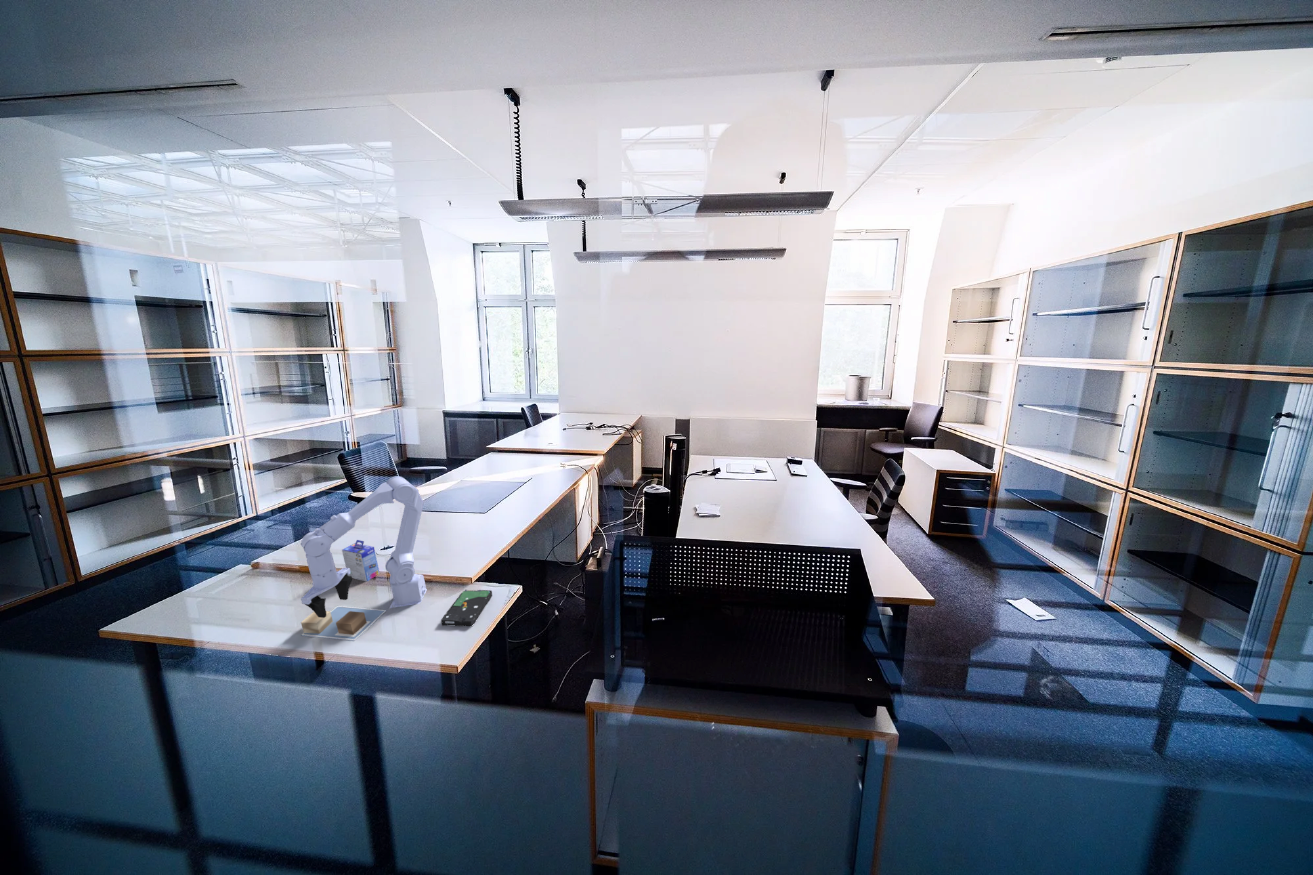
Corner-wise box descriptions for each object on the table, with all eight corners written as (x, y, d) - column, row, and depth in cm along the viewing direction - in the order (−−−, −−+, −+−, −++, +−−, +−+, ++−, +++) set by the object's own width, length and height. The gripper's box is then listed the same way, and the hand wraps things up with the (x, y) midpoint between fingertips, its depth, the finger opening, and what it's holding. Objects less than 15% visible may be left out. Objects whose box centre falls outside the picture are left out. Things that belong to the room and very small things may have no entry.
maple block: (333, 621, 127) (330, 611, 125) (319, 633, 122) (316, 623, 121) (317, 620, 127) (314, 610, 125) (304, 632, 122) (300, 622, 121)
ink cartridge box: (381, 574, 151) (373, 540, 146) (367, 583, 146) (359, 549, 141) (361, 569, 153) (353, 536, 149) (347, 578, 148) (338, 544, 144)
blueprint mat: (387, 611, 132) (386, 609, 131) (354, 642, 119) (354, 640, 119) (338, 607, 134) (337, 605, 133) (301, 636, 121) (300, 635, 121)
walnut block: (366, 622, 126) (364, 612, 125) (353, 634, 121) (350, 624, 120) (352, 621, 127) (349, 611, 125) (338, 633, 122) (335, 622, 121)
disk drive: (473, 628, 126) (493, 596, 140) (472, 621, 125) (492, 589, 139) (441, 627, 126) (464, 595, 140) (440, 620, 125) (463, 588, 139)
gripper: (332, 555, 125) (341, 591, 129) (286, 584, 111) (299, 623, 115) (352, 556, 124) (361, 592, 128) (309, 586, 110) (321, 625, 114)
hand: (333, 607), depth 121 cm, fingers open, 7 cm apart
